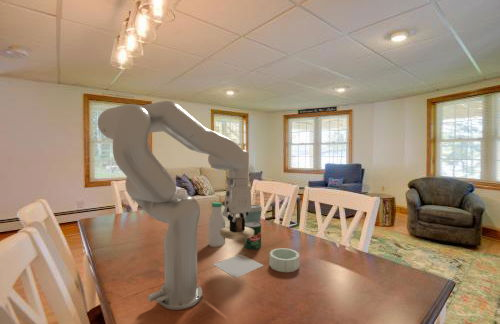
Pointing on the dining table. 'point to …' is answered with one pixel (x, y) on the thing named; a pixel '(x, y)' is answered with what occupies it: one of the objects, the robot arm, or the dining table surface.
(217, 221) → the milk bottle
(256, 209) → the disposable coffee cup
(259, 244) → the canned tomato
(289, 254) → the bowl
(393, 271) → the dining table surface
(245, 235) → the lid
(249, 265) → the mat
